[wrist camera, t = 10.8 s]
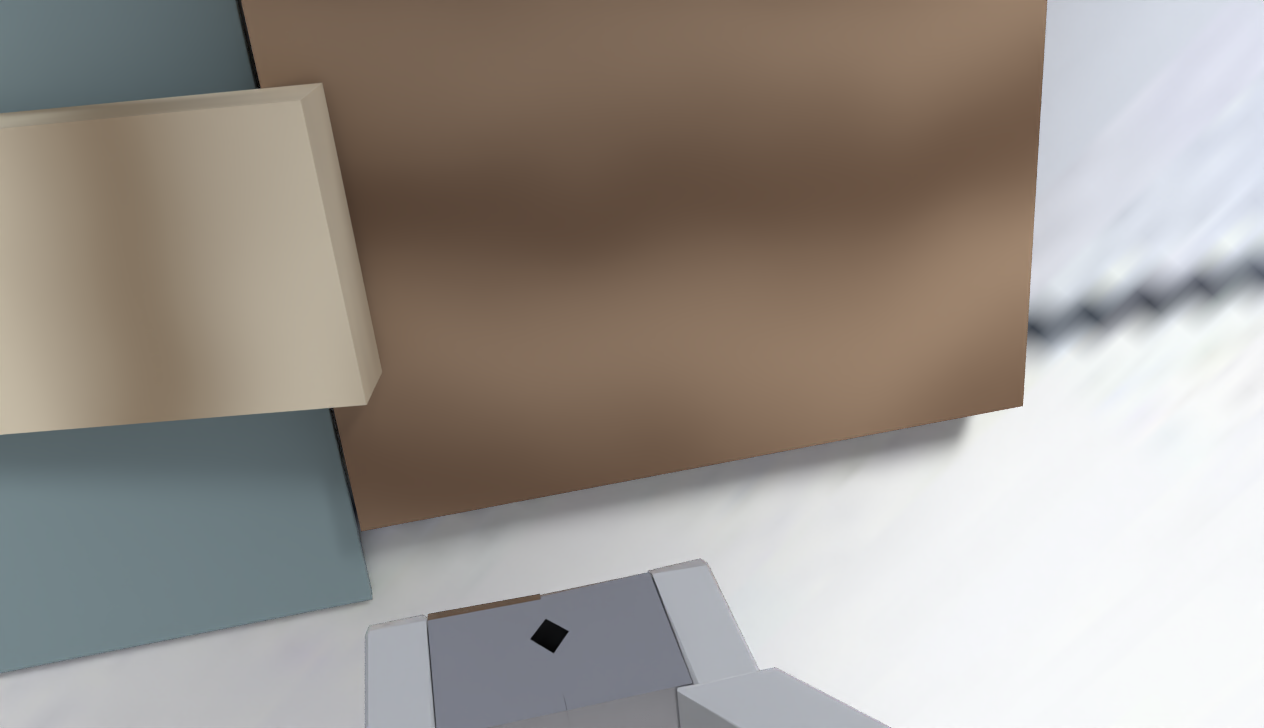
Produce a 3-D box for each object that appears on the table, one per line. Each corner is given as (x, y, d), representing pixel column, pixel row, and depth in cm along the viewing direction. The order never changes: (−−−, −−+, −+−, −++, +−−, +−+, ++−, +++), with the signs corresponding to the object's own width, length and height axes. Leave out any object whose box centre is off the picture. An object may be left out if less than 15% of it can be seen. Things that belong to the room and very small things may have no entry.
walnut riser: (219, -155, 22) (206, -155, 20) (1009, -232, 24) (1061, -238, 22) (361, 486, 27) (361, 531, 26) (983, 372, 30) (1022, 405, 28)
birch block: (-36, 406, 24) (-76, 440, 23) (-144, 126, 22) (-196, 147, 20) (382, 372, 24) (366, 404, 23) (322, 82, 21) (300, 100, 20)
